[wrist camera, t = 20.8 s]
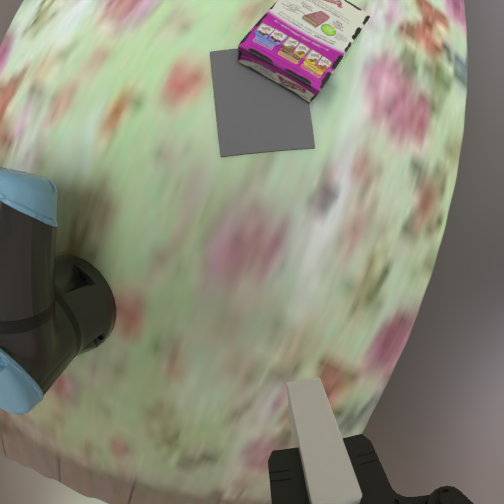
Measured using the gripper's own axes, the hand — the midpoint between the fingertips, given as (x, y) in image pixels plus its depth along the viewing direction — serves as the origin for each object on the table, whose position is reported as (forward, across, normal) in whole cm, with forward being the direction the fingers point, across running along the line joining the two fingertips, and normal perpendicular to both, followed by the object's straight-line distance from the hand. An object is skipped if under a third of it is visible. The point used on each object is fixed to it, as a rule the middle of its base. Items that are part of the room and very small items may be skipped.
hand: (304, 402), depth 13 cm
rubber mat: (+28, +2, +21) cm, 35 cm away
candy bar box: (+25, +4, +23) cm, 34 cm away
